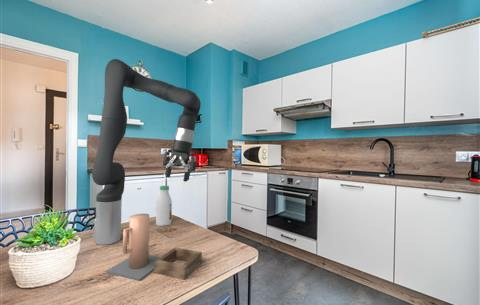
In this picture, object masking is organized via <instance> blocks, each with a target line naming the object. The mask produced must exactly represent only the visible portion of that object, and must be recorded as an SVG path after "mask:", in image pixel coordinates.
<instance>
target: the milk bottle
mask: <svg viewBox="0 0 480 305" xmlns="http://www.w3.org/2000/svg"><path fill="white" fill-rule="evenodd" d="M169 190H170V186H169V185H160V186H159V194H158V197H157V200H156V206H155V207H156V208H155V225H156V226H158V227H165V226H169V225H171V224H172V214H173V213H172V212H173V211H172V209H173V207H172V206H173V204H172V198H171V196H170V192H169Z"/></svg>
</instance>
